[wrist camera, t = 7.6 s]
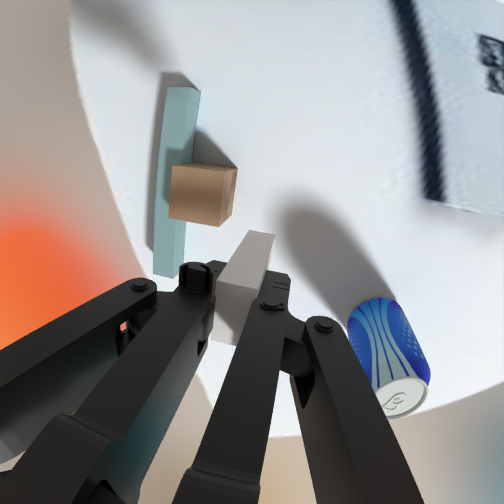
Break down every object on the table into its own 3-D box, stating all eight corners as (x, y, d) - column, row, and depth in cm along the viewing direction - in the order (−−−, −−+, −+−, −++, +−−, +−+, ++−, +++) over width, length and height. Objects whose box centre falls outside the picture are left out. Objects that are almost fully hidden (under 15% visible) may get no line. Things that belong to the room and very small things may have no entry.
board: (179, 91, 33) (167, 86, 30) (200, 91, 33) (190, 87, 29) (163, 264, 42) (153, 273, 38) (182, 268, 41) (173, 278, 38)
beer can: (338, 305, 39) (349, 389, 24) (394, 283, 37) (433, 358, 22) (355, 349, 41) (367, 433, 26) (406, 330, 39) (438, 408, 24)
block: (192, 162, 36) (172, 165, 31) (237, 168, 36) (225, 171, 30) (187, 207, 38) (168, 218, 33) (231, 214, 38) (218, 227, 32)
